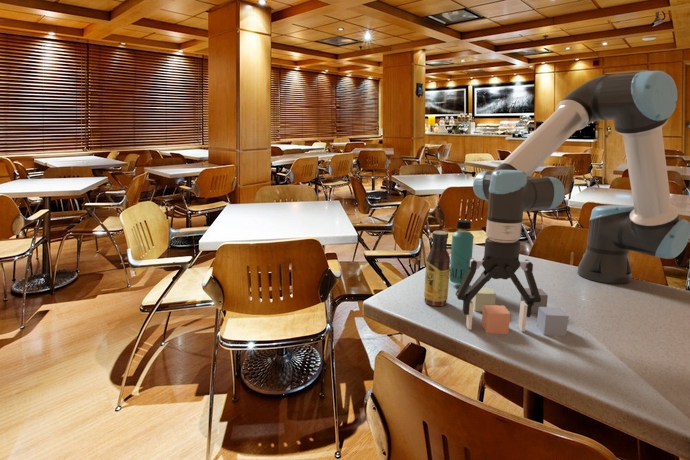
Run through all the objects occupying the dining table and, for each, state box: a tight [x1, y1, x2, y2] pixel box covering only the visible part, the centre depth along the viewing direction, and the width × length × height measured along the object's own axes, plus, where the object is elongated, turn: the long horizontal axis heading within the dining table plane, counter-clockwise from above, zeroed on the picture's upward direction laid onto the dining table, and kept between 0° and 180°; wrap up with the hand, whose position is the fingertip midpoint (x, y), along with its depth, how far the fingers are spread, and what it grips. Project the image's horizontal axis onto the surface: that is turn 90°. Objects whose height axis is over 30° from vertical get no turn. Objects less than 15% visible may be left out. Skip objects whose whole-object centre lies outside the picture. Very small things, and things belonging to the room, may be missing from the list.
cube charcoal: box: [519, 287, 549, 314], centre depth 120 cm, size 5×5×5 cm
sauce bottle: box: [423, 230, 451, 307], centre depth 122 cm, size 7×6×20 cm
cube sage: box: [472, 286, 497, 312], centre depth 121 cm, size 5×5×5 cm
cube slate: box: [536, 306, 569, 337], centre depth 107 cm, size 5×5×5 cm
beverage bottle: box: [449, 219, 475, 285], centre depth 136 cm, size 6×7×20 cm
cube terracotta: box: [481, 304, 511, 335], centre depth 108 cm, size 5×5×5 cm
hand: (494, 328), depth 108 cm, fingers open, 12 cm apart
